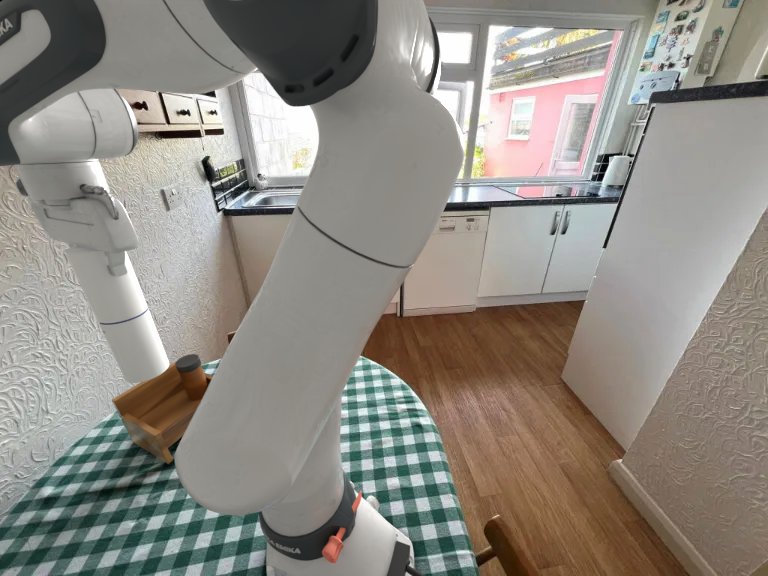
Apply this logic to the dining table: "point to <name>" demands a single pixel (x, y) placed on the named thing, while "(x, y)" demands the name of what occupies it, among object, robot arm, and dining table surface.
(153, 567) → the dining table surface
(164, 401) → the spice rack
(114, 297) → the cylindrical container
